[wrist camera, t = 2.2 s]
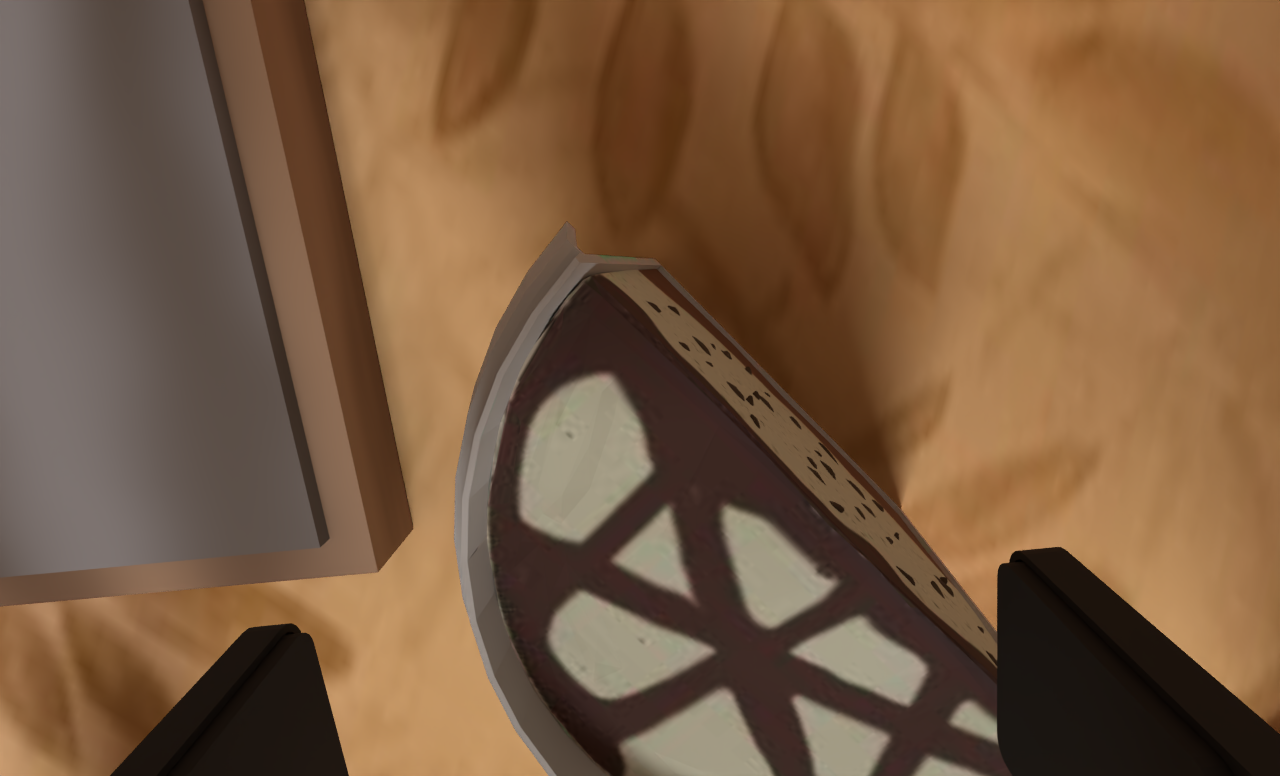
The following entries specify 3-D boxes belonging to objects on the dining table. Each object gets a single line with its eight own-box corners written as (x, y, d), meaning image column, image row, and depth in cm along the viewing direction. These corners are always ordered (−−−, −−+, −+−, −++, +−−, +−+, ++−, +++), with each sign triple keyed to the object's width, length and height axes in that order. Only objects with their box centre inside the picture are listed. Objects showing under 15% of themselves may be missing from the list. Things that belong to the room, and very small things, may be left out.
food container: (451, 383, 20) (228, 559, 10) (613, 215, 18) (542, 223, 9) (768, 680, 21) (847, 1081, 11) (936, 544, 20) (1183, 864, 10)
